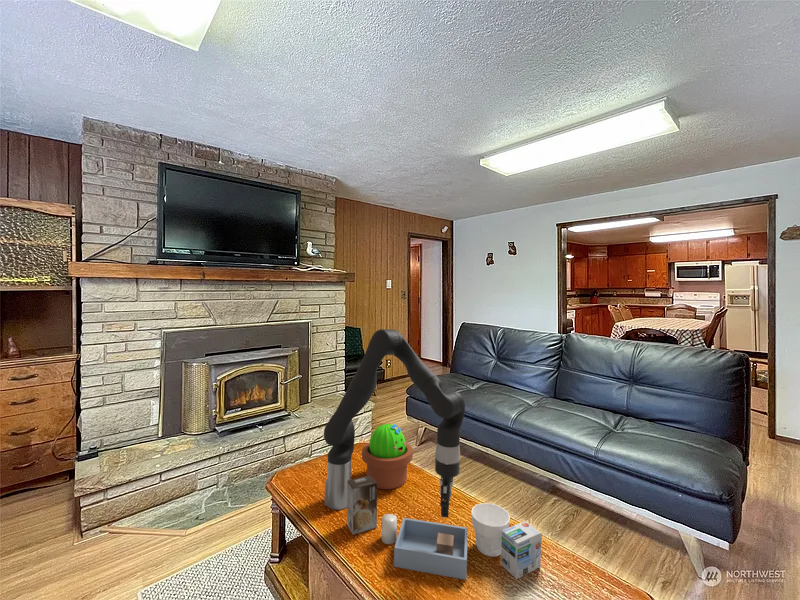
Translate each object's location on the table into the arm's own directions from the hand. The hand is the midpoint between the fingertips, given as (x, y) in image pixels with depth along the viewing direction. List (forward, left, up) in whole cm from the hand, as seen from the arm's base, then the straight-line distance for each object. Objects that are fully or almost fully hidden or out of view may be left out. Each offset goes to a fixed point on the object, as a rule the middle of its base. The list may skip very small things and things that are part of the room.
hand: (445, 508), depth 110 cm
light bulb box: (+23, +2, -16) cm, 28 cm away
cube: (0, 0, -15) cm, 15 cm away
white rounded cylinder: (-19, +4, -16) cm, 25 cm away
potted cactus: (-29, +41, -16) cm, 53 cm away
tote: (-4, 0, -16) cm, 16 cm away
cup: (+14, +8, -16) cm, 23 cm away
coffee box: (-30, +8, -16) cm, 35 cm away
